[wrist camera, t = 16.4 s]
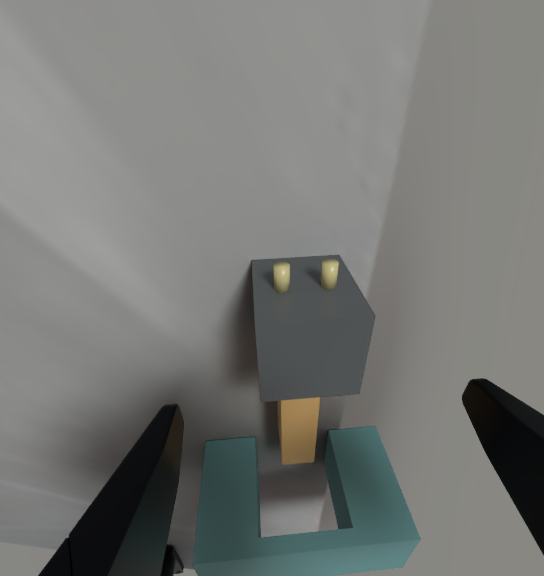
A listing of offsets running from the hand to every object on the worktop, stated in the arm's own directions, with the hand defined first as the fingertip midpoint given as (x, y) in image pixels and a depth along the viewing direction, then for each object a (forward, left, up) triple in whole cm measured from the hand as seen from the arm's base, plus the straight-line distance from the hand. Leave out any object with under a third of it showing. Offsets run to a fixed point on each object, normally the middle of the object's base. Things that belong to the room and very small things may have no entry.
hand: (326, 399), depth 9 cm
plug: (-4, 0, -6) cm, 8 cm away
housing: (-14, 0, -6) cm, 16 cm away
